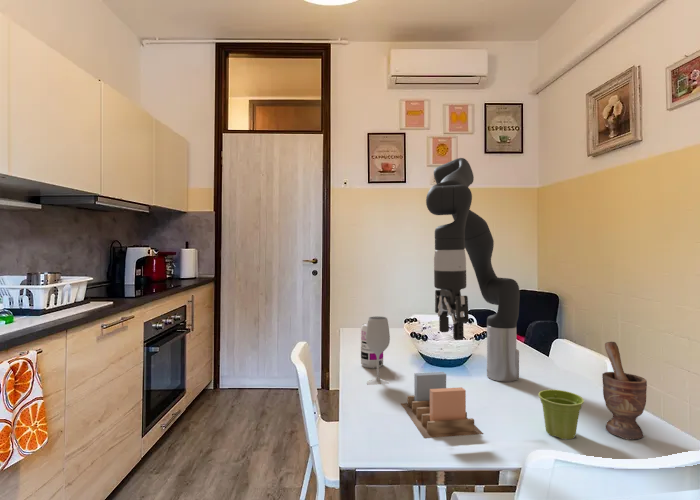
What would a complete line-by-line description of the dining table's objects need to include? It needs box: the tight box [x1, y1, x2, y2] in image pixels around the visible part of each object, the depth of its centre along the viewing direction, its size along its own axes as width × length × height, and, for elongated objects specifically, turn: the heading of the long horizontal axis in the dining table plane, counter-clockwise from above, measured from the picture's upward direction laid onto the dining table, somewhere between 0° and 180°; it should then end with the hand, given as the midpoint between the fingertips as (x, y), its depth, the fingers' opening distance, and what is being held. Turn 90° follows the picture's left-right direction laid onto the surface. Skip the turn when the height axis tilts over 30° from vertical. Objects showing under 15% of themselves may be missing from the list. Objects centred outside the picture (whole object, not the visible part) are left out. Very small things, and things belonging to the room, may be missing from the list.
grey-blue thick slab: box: [413, 371, 447, 401], centre depth 107 cm, size 8×2×9 cm, turn 98°
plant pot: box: [538, 389, 585, 440], centre depth 94 cm, size 9×9×9 cm
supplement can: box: [360, 322, 384, 369], centre depth 149 cm, size 8×8×15 cm
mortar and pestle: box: [601, 341, 648, 441], centre depth 96 cm, size 12×9×20 cm
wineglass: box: [366, 316, 391, 386], centre depth 129 cm, size 8×8×21 cm
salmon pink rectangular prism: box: [430, 387, 467, 421], centre depth 95 cm, size 8×2×9 cm, turn 98°
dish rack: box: [400, 395, 484, 439], centre depth 101 cm, size 14×20×4 cm
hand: (451, 335), depth 98 cm, fingers open, 8 cm apart
